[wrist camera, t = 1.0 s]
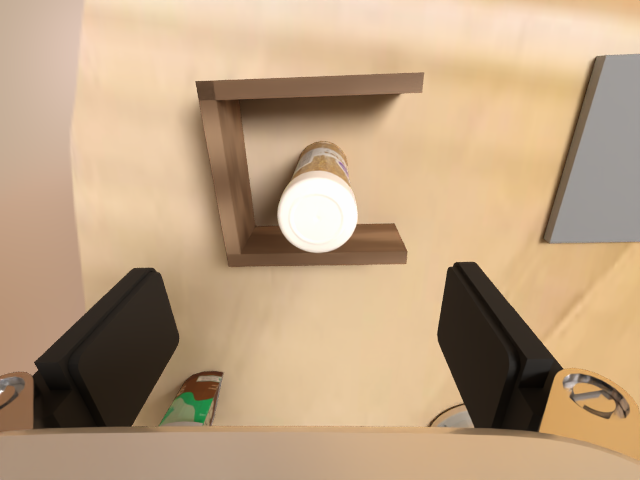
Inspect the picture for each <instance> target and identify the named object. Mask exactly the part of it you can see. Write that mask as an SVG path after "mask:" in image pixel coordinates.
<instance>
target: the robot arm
mask: <svg viewBox="0 0 640 480" xmlns="http://www.w3.org/2000/svg"><path fill="white" fill-rule="evenodd" d="M437 336H438V342H439V345H440V347H441V350H442V352H443V354H444V357H445V359H446V362H447V364H448V366H449V369H450V371H451V373H452V376H453V378H454V380H455V383H456V385H457V388H458V390H459V392H460V395H461V397H462V399H463V402H464V404H465V405H461V406H458V407H455V408H453V409H451V410H449V411H447V412H445V413H443V414H442V415H441V416H439V417H438V418H437V419H436V420H435V421H434V422H433V424H432V425H431V427H366V426H165V427H131V426H132V424H133V423H134V421H135V419H136V417H137V416H138V414H139V412H140V410H141V409H142V407H143V405H144V403H145V402H146V400H147V398H148V396H149V395H150V393H151V391H152V389H153V388H154V386H155V384H156V383H157V381H158V379H159V377H160V376H161V374H162V372H163V370H164V369H165V367H166V365H167V363H168V362H169V360H170V358H171V356H172V355H173V353H174V351H175V349H176V348H177V346H178V343H179V333H178V330H177V327H176V323H175V320H174V316H173V313H172V310H171V306H170V303H169V299H168V296H167V293H166V289H165V286H164V282H163V279H162V276H161V274H160V273H159V272H156V270H155V269H154V268H134V269H132V270H131V271H130V272H129V273H128V274H127V275H126V276H124V277H123V278H122V279H121V280H120V281H119V282H118V283H117V284H116V285H115V286H114V287H113V288H112V289H111V290H110V291H109V292H108V293H107V294H106V295H105V296H103V297H102V298H101V299H100V300H99V301H98V302H97V303H96V304H95V305H94V306H93V307H92V308H91V309H90V310H89V311H88V312H87V313H86V314H85V315H84V316H82V317H81V318H80V319H79V320H78V321H77V322H76V323H75V324H74V325H73V326H72V327H71V328H70V329H69V330H68V331H67V332H66V333H65V334H64V335H63V336H61V338H60V339H58V340H57V341H56V342H55V343H54V344H53V345H52V346H51V347H50V348H49V349H48V350H47V351H46V352H45V353H44V354H43V355H42V356H41V357H39V358H38V360H36V361H35V362H34V363H35V365H36V366H37V368H38V371H37V372H36V373H35V374H34V375H33V376H32V375H31V374H29V373H27V372H13V373H8V374H5V375H2V376H0V480H640V412H639V408H638V405H637V404H636V403H635V401H634V400H633V398H632V397H631V396H630V395H629V394H628V393H627V392H626V391H625V390H624V389H623V388H621V387H620V386H618V385H617V384H616V383H614V382H613V381H611V380H609V379H607V378H605V377H603V376H601V375H599V374H597V373H594V372H591V371H588V370H583V369H577V368H569V369H563V368H562V367H561V365H560V364H559V363H558V362H557V361H556V359H555V358H554V357H553V356H552V355H551V353H550V352H549V351H548V350H547V348H546V347H545V346H544V345H543V344H542V342H541V341H540V340H539V339H538V337H537V336H536V335H535V334H534V333H533V331H532V330H531V329H530V328H529V326H528V325H527V324H526V323H525V322H524V320H523V319H522V318H521V317H520V315H519V314H518V313H517V312H516V311H515V309H514V308H513V307H512V306H511V305H510V304H509V303H508V301H507V300H506V299H505V298H504V297H503V295H502V294H501V293H500V292H499V290H498V289H497V288H496V287H495V285H494V284H493V283H492V282H491V281H490V279H489V278H488V277H487V276H486V274H485V273H484V272H483V271H482V270H481V268H480V267H479V266H478V265H477V264H476V263H475V262H456V263H454V265H453V267H449V268H448V270H447V276H446V282H445V289H444V295H443V301H442V307H441V313H440V320H439V326H438V333H437Z"/></svg>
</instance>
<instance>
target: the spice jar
mask: <svg viewBox="0 0 640 480" xmlns="http://www.w3.org/2000/svg"><path fill="white" fill-rule="evenodd" d="M277 217H278V224H279V227H280V229H281V231H282V233H283V235H284V236H285V238H286V239H287V240H288V241H289V242H290V243H292V244H293V245H294V246H296V247H297V248H299V249H301V250H304V251H307V252H313V253H323V252H329V251H332V250H334V249H337V248H339V247H340V246H342V245H343V244H344V243H345V242H346V241H347V240H348V239H349V238H350V237H351V235H352V234H353V232H354V230H355V228H356V224H357V217H358V213H357V204H356V200H355V196H354V194H353V192H352V190H351V188H350V181H349V175H348V169H347V160H346V156H345V154H344V153H343V151H342V150H341V149H340V148H339V147H338V146H337V145H335V144H333V143H330V142H326V141H320V142H315V143H313V144H311V145H309V146H307V147H306V149H305V150H304V151H303V152H302V154H301V156H300V159H299V162H298V165H297V167H296V169H295V172H294V174H293V176H292V179H291V181H290V183H289V184H288V185H287V187H286V188H285V190H284V192H283V194H282V196H281V199H280V202H279V205H278V212H277Z"/></svg>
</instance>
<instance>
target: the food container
mask: <svg viewBox="0 0 640 480" xmlns="http://www.w3.org/2000/svg"><path fill="white" fill-rule="evenodd" d="M222 378H223V372H217V371H207V372H200V373H197V374H194V375H192V376H191V377H189V378H188V379H187V380H186V381H185V383H184V384H183V386H182V388H181V389H180V391H179V393H178V394H177V396H176V398H175V399H174V401H173V403H172V404H171V406H170V408H169V409H168V411H167V413H166V414H165V416H164V418H163V419H162V421H161V423H160V425H159V426H158V427H165V426H212V423H213V420H214V416H215V411H216V407H217V402H218V397H219V392H220V387H221V382H222Z"/></svg>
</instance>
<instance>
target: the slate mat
mask: <svg viewBox="0 0 640 480" xmlns="http://www.w3.org/2000/svg"><path fill="white" fill-rule="evenodd" d="M544 240H546V241H547V242H549V243H590V242H640V54H627V55H605V56H597V57H596V61H595V64H594V67H593V71H592V74H591V78H590V81H589V85H588V88H587V91H586V95H585V98H584V102H583V105H582V109H581V112H580V115H579V119H578V122H577V126H576V129H575V133H574V136H573V139H572V143H571V146H570V150H569V153H568V157H567V160H566V163H565V167H564V170H563V174H562V177H561V181H560V184H559V187H558V191H557V194H556V198H555V201H554V205H553V208H552V211H551V215H550V218H549V222H548V225H547V229H546V232H545V235H544Z"/></svg>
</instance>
